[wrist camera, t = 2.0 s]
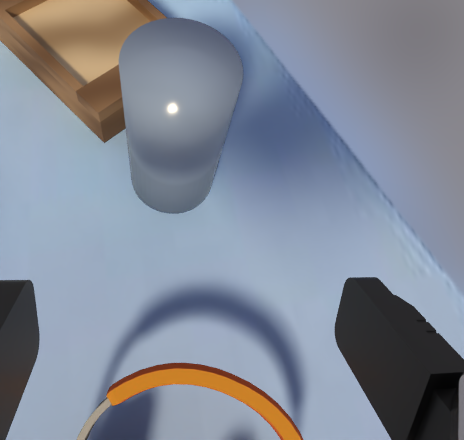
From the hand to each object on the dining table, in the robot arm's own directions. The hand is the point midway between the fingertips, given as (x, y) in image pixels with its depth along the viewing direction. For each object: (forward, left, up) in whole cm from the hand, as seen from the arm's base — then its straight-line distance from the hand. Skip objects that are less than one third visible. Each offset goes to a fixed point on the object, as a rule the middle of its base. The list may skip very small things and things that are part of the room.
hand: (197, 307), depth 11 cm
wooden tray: (-11, +19, -15) cm, 27 cm away
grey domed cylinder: (-3, +11, -15) cm, 19 cm away
